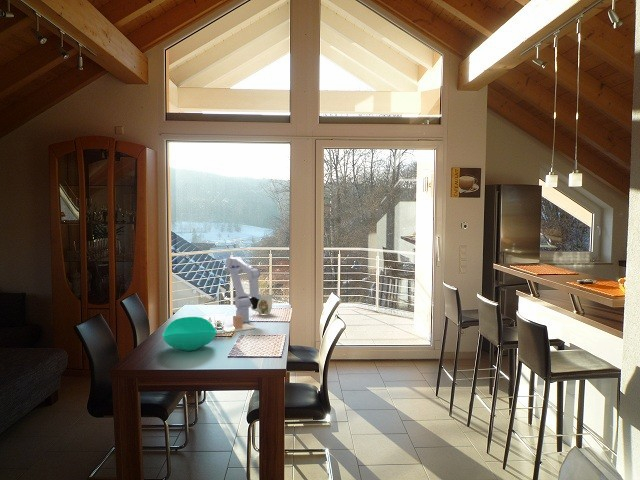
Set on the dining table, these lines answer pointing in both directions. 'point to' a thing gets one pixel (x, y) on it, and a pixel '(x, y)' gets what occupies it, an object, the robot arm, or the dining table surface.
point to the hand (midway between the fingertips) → (254, 309)
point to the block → (237, 322)
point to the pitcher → (264, 304)
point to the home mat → (244, 328)
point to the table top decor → (189, 333)
